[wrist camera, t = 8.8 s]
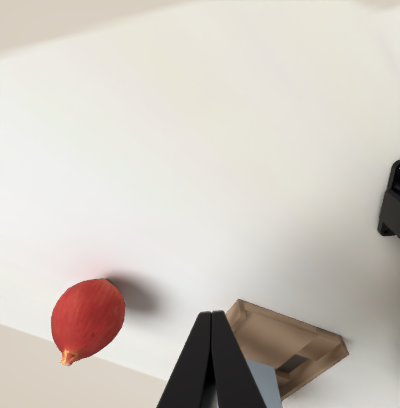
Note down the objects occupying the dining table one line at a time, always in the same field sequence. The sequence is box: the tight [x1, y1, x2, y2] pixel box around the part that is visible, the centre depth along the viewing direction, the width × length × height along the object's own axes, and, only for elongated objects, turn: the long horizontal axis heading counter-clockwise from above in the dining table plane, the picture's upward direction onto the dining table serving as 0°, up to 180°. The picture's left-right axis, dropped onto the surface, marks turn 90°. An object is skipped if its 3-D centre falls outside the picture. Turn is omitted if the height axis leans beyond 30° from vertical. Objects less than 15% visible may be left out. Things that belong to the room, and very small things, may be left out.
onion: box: [51, 279, 125, 366], centre depth 22 cm, size 6×6×8 cm
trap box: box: [225, 299, 349, 401], centre depth 29 cm, size 14×13×4 cm
